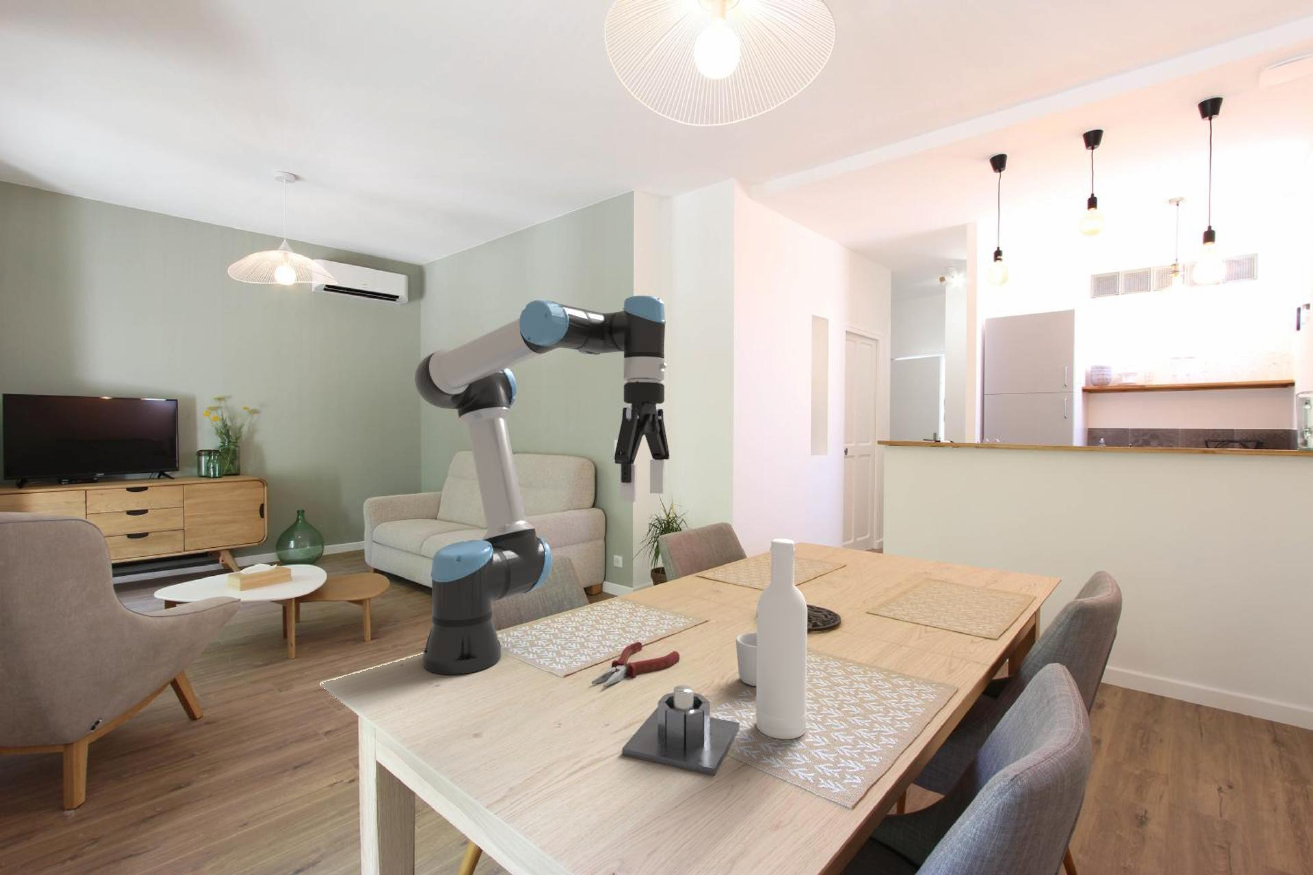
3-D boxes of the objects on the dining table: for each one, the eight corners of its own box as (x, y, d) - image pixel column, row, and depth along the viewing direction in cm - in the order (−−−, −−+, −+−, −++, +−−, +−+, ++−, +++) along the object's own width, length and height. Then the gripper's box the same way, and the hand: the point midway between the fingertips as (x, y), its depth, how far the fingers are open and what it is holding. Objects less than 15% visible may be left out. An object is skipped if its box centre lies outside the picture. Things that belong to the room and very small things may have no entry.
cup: (796, 678, 117) (796, 636, 117) (790, 695, 110) (791, 651, 110) (740, 670, 121) (740, 629, 121) (731, 686, 113) (731, 643, 113)
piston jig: (622, 754, 90) (622, 700, 90) (657, 712, 103) (657, 665, 103) (714, 775, 85) (715, 718, 85) (739, 728, 98) (739, 679, 98)
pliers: (574, 683, 116) (574, 669, 116) (636, 650, 132) (636, 638, 132) (622, 699, 109) (622, 684, 109) (682, 663, 126) (682, 650, 126)
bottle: (816, 736, 96) (818, 544, 95) (770, 743, 93) (772, 546, 93) (790, 712, 103) (792, 534, 102) (747, 719, 101) (749, 537, 100)
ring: (651, 741, 92) (652, 708, 92) (669, 719, 99) (669, 688, 99) (699, 751, 89) (699, 717, 89) (714, 728, 96) (714, 696, 96)
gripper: (635, 377, 100) (634, 506, 101) (685, 385, 124) (684, 491, 124) (594, 378, 103) (594, 504, 104) (650, 386, 126) (650, 489, 127)
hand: (643, 497), depth 114 cm, fingers open, 13 cm apart
